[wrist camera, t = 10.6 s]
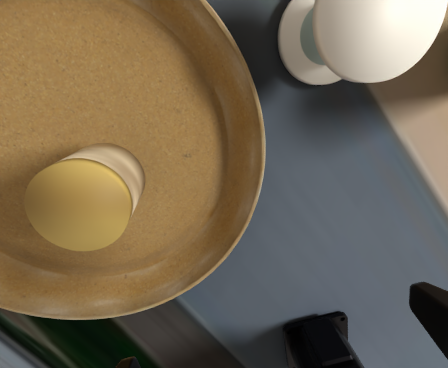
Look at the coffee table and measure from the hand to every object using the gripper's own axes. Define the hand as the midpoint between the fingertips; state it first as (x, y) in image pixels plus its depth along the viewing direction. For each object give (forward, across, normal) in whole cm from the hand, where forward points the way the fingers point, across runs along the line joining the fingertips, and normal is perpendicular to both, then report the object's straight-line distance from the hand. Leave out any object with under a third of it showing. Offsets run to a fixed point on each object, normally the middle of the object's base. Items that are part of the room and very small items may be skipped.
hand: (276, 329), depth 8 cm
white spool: (+12, -8, -9) cm, 18 cm away
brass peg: (+10, +7, -4) cm, 13 cm away
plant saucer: (+13, +9, -5) cm, 17 cm away
